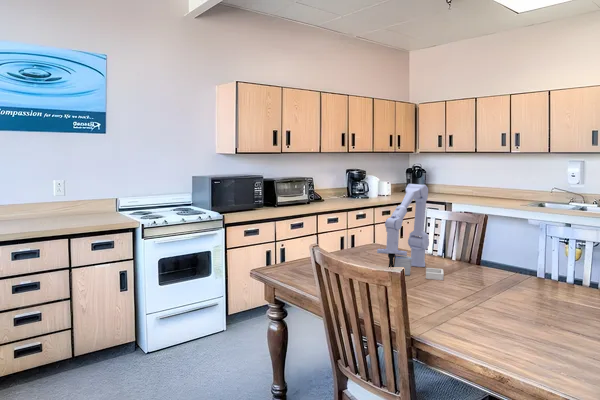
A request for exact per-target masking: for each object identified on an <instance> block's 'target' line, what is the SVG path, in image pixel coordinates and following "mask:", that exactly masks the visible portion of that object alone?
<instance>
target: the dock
mask: <svg viewBox="0 0 600 400" xmlns="http://www.w3.org/2000/svg"><path fill="white" fill-rule="evenodd" d="M444 276H445V275H444V269H443V268H436V267H435V268H433V267H425V279H426V280H437V281H444Z"/></svg>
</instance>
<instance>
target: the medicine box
mask: <svg viewBox="0 0 600 400" xmlns="http://www.w3.org/2000/svg"><path fill="white" fill-rule="evenodd" d="M411 262H412V259H411V255H407V256H404V255H395V256H394V258H393V267H404V268H405V276H410V275H411V271H412V270H411V269H412V268H411V267H412V266H411Z"/></svg>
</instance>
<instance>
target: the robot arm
mask: <svg viewBox="0 0 600 400" xmlns="http://www.w3.org/2000/svg"><path fill="white" fill-rule="evenodd" d="M428 199H429V188H428V186H427V185H426V184H417V183H408V184H407V185H406V187H405V194H404V197H403V199H402V201H401V203H400V205H397V206H396V207H395V209H394V211H393V212H392V214H391V216H390V217H388V218H387V219H386V220H385V222H384V227H385V232H386V245H385V246H386V248H377V249H376V253H377V254H385V255H386V254H387V257H388V259H389V260H388V268H389V267H390V268H391V267H393V265H394V256H395V255H400V256H408V251H406V250H399V238H400V237H399V236H400V230H401V228H402V225H403V221H404V218H405V216H406V214H407V213H408V210H407V209H408V208H409V206H410V204H411V203H412V202H413V200H414V201H415V210H414V222H413V224H414V225H413V231H411V232H409V235H408V236H409V237H408V239H407V244H408V247H409V248H410V257H411V259H412V262H411V267H419V268H426V262H425V259H426V256H425V255H426V250H427V249H428V247H429V245H430V240H429V235H428V233H426V232H425V220H426V208H427V207H426V206H427V200H428Z"/></svg>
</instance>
